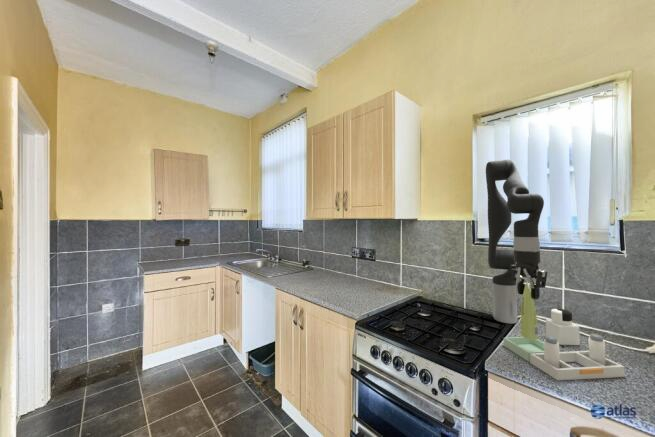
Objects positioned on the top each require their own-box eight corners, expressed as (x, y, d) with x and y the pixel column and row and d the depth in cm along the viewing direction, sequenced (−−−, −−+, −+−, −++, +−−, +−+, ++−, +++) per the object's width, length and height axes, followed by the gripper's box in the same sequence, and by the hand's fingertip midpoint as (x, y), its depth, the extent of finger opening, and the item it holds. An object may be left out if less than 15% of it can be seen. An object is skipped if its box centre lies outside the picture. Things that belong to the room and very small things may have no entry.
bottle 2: (586, 365, 82) (584, 333, 83) (596, 364, 83) (595, 333, 83) (598, 371, 79) (597, 338, 79) (609, 371, 79) (608, 338, 79)
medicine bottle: (564, 337, 102) (563, 307, 102) (580, 345, 95) (579, 313, 95) (545, 336, 103) (544, 306, 103) (559, 345, 96) (558, 313, 96)
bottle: (541, 367, 82) (540, 335, 82) (552, 367, 82) (551, 335, 82) (552, 374, 78) (550, 340, 78) (563, 373, 78) (562, 340, 78)
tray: (503, 345, 96) (503, 337, 96) (532, 344, 97) (532, 336, 97) (528, 361, 85) (528, 352, 85) (560, 360, 86) (560, 351, 86)
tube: (516, 333, 94) (514, 280, 94) (529, 333, 94) (527, 280, 95) (529, 340, 88) (527, 284, 89) (543, 340, 89) (540, 283, 89)
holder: (530, 362, 85) (530, 353, 85) (590, 359, 86) (590, 350, 86) (558, 381, 75) (558, 370, 75) (626, 377, 76) (625, 367, 76)
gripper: (501, 247, 99) (503, 291, 99) (533, 251, 84) (535, 303, 84) (520, 247, 99) (522, 290, 99) (555, 251, 85) (557, 302, 85)
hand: (528, 296), depth 92 cm, fingers closed on tube, 5 cm apart
